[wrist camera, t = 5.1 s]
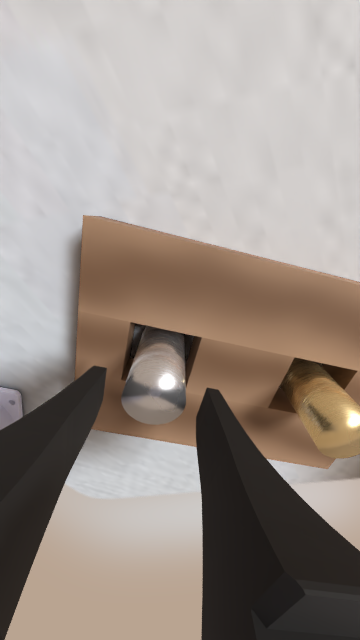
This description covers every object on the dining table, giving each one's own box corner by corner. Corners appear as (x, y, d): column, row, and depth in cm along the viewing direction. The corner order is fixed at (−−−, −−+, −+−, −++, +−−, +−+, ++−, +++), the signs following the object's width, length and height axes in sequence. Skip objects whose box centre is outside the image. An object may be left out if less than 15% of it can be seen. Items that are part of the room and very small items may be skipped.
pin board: (310, 440, 20) (327, 469, 17) (86, 400, 18) (72, 425, 16) (411, 295, 14) (455, 309, 12) (101, 216, 12) (83, 215, 10)
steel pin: (179, 359, 16) (179, 428, 11) (139, 353, 16) (118, 419, 11) (188, 323, 15) (192, 381, 10) (145, 316, 15) (124, 369, 10)
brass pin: (302, 386, 17) (358, 462, 12) (266, 378, 17) (306, 453, 12) (320, 354, 16) (392, 422, 11) (282, 346, 16) (335, 411, 10)
